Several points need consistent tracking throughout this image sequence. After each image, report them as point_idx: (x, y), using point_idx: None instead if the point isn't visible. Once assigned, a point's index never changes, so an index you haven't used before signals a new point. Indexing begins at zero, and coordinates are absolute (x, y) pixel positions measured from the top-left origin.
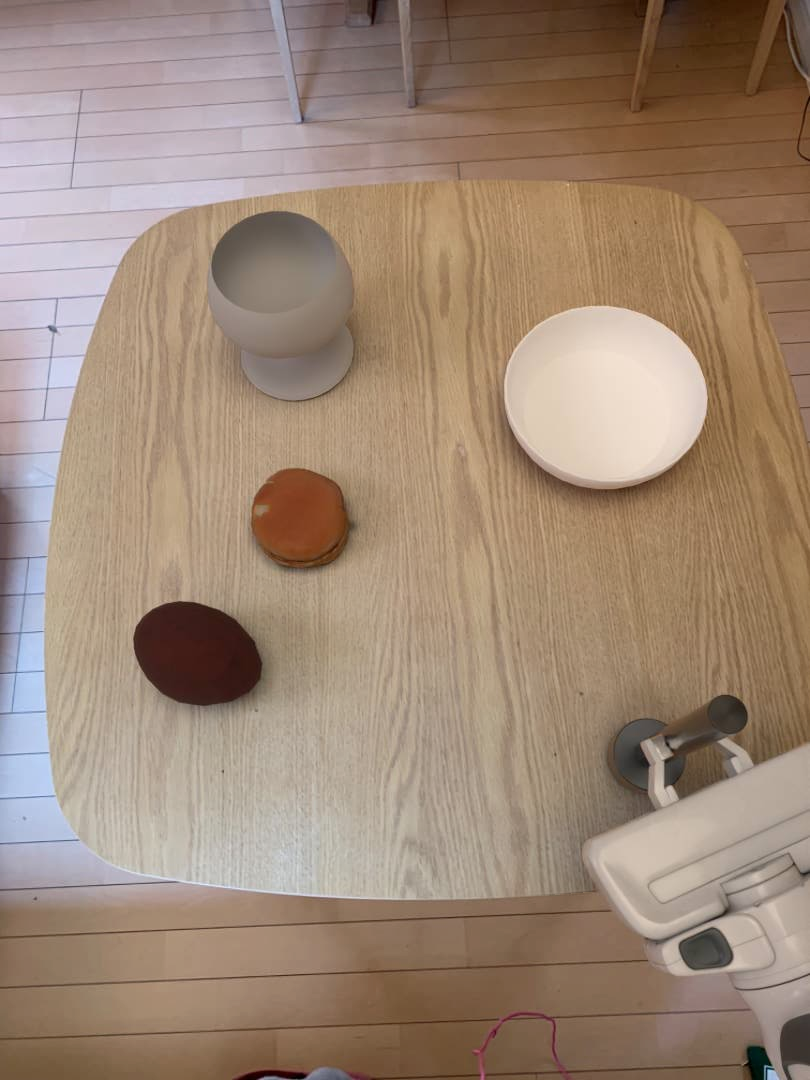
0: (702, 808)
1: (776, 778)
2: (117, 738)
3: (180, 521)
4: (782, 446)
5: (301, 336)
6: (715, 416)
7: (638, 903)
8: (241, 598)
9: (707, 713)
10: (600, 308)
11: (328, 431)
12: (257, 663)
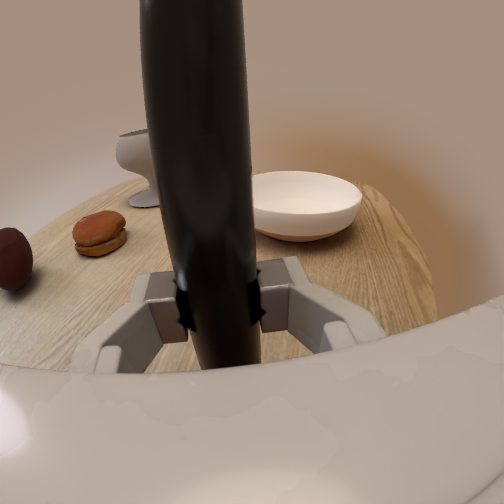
0: (138, 413)
1: (457, 356)
2: None
3: (62, 237)
4: (414, 247)
5: (139, 149)
6: (373, 232)
7: None
8: (53, 263)
9: None
10: (304, 172)
11: (145, 217)
12: (16, 262)
